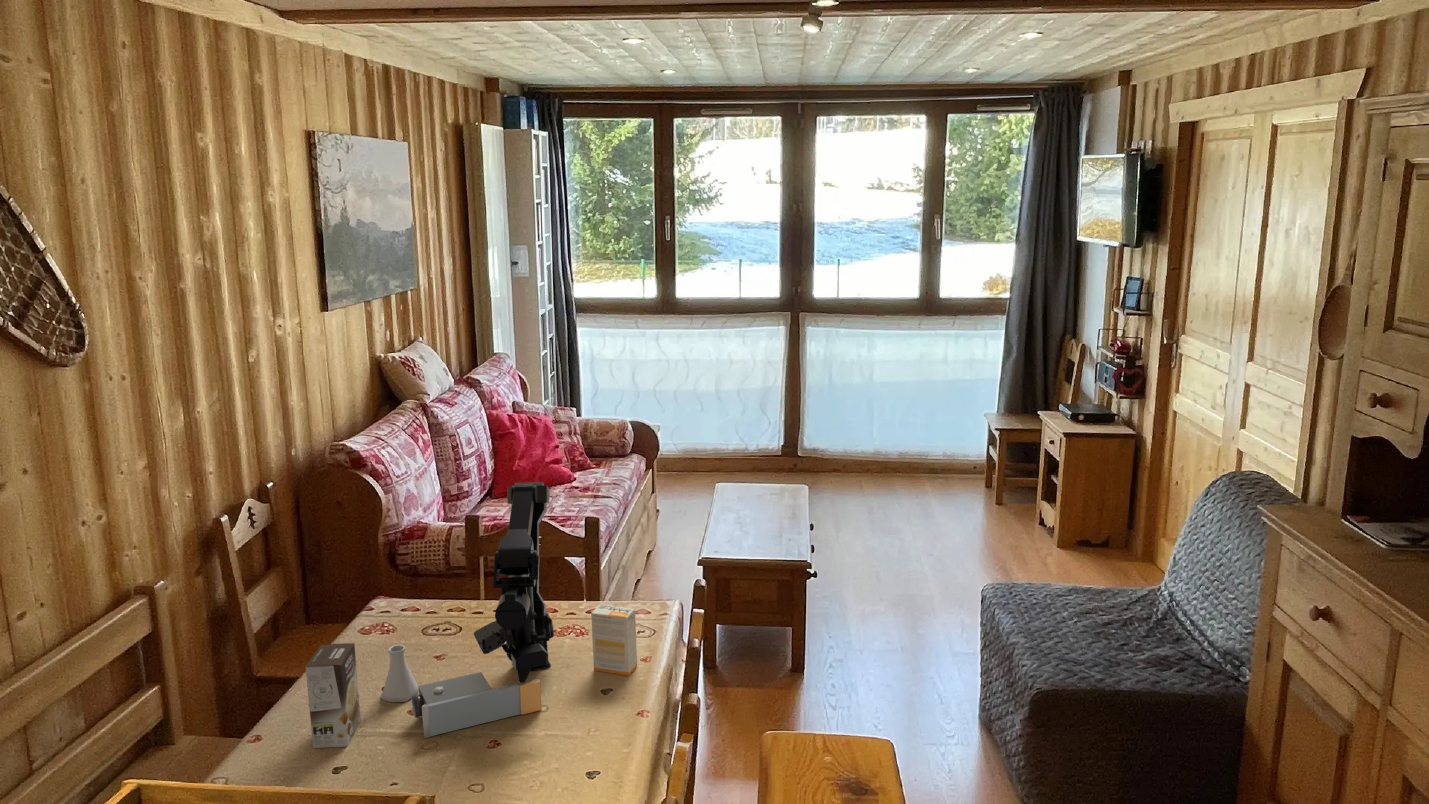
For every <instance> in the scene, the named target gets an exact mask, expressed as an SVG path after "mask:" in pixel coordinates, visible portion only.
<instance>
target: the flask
mask: <svg viewBox="0 0 1429 804" xmlns="http://www.w3.org/2000/svg"><path fill="white" fill-rule="evenodd" d="M405 650H406V646H405V645H403V644H394V645H392V646H390V647H388V650H387V653H388V654H389V658H390V660H389V669H388V673H387V676H386V679H385V683H384V685H383V690H382V693H381V696H380V699H381V700H384V701H387V702H389V703H400V702H401V703H403V702H408V701H409V700H412V696H416V695H419V686H420V685H419V684H418V682H417V680H416V679H415V677H414V675H413V673H412V671H411V669H410V667H409V665H408V663H407V660H406V655H405Z"/></svg>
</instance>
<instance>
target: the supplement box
mask: <svg viewBox="0 0 1429 804" xmlns="http://www.w3.org/2000/svg"><path fill="white" fill-rule="evenodd" d="M590 614H591V615H590V617H591V633H592V634H591V636H592V655H593V656H592V657H593V671H595V670H597V671H596V672H603V673H608V674H609V673H610V674H615V673H616V674H617V675H622V676H627V677H628V676H630V675H631V674H632V673H633V672H634V670H635V669H636V668H637V667H638V652H637V648H638V647H637V628H636V627H637V624H636V608H630V607H629V608H628V607H621V606H616V605H615V606H614V605H607V604H600V605H598V606H597V607H596V608H595V609H594V610H593V611H591V613H590ZM631 672H632V673H631ZM630 673H631V674H630Z"/></svg>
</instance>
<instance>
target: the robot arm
mask: <svg viewBox="0 0 1429 804" xmlns="http://www.w3.org/2000/svg"><path fill="white" fill-rule="evenodd" d="M506 492H507V493H506V494H507V496H506V502H507V505H510V506H511V508H510V516H509V521H508V529H507V534H506V535H504V536H503V537H502V538H500V541H499V545H498V549H497V551H495V553H494V561H493V562H494V563H493V581H492V582H493V585H492V586H493V587H492V588H493V589H501V595H500V597H499V600H498V602H497V603H498V604H497V605H496V609H495V612H494V617H495V618H494V619H495V621H491V622H489V623H487V624H486V625H484V626H482V627H480V628H478V629H476V630H475V631H474V632H473V636H474V638H475V641H476V642H477V644H478V646H479V648H480V650H481V651H482V654H484V655H488V654H490V653H491V652H494V651H495V650H497V649H500V648H502V649H503V651H504V652H505V653H506V656H507V658H508V659H509V661H511V662H512V666H513V667H514V669H515V673H516V675H517V676H516V677H517V680H518V683H522V682H526V681H528V677H529V674H530V673H531V672H533V671H538V670H542V669H547V668H550V667H551V666H552V664H551V663H550V661H549V653H548V642H550V640H551V639H552V638H554V637H555V636H554V634H555V632H554V623H553V619H552V618H551V616H550V613H549V612H547V605H546V603H545V601H544V599H543V598H542V596H541V594H540V591H539V590H540V588H539V587H540V560H541V559H540V524H541V522H542V520H543V518H544V517H545V515H546V514H547V511H548V510H547V506H548V505H547V504H550V495H551V494H550V486H548V485H545V484H544V481H536V482H533V481H532V482H530V481H528V482H527V481H526V482H514V485H512V486H507V487H506ZM500 575H501V576H507V577H500Z"/></svg>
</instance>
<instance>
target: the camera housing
mask: <svg viewBox="0 0 1429 804" xmlns="http://www.w3.org/2000/svg"><path fill="white" fill-rule="evenodd" d="M418 686H419V691H418V694H417V695H416V696H412V698H411V705H412V706H411V708H412V713H413V717H414V718H415V719H417V718H422V720H423V717H422V706H423V705H428V704H432V703H436V702H441V701H445V700H449V699H453V698H458V697H462V696H466V695H470V694H475V693H479V692H483V691H488V690H492V689H493V688H492V687H491V686H490V684H489V682H488V681H487V679H486V678H485V676H484V674H483V673H482V671H478V672H476V673H475V672H474V673H470V674H466V675H461V676H456V677H453V678H448V679H444V680H439V681H434V682H430V683H426V684H421V685H418Z"/></svg>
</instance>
